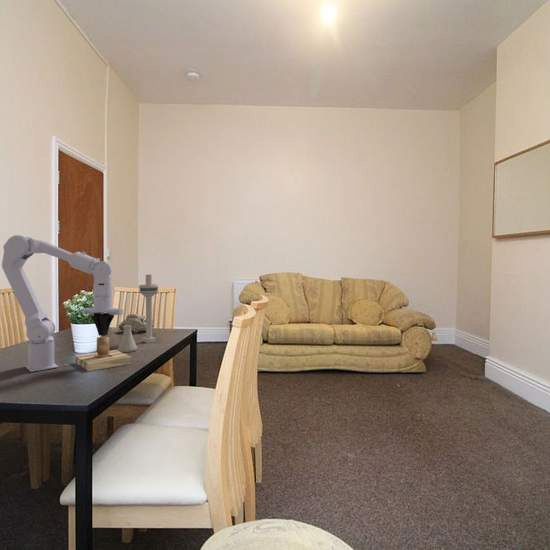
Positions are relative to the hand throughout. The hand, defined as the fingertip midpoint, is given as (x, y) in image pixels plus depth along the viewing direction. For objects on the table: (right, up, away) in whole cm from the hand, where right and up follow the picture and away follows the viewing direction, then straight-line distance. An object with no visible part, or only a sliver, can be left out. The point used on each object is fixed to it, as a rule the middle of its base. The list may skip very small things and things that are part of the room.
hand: (103, 335), depth 131 cm
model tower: (+4, -9, +38) cm, 39 cm away
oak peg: (0, -10, 0) cm, 10 cm away
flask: (+1, -10, +20) cm, 22 cm away
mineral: (-11, -9, +63) cm, 64 cm away
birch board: (0, -10, 0) cm, 10 cm away
